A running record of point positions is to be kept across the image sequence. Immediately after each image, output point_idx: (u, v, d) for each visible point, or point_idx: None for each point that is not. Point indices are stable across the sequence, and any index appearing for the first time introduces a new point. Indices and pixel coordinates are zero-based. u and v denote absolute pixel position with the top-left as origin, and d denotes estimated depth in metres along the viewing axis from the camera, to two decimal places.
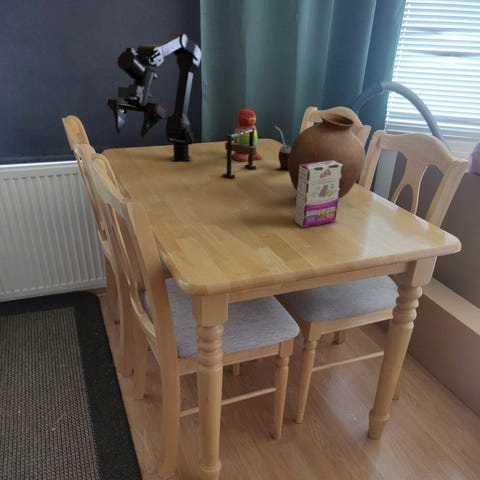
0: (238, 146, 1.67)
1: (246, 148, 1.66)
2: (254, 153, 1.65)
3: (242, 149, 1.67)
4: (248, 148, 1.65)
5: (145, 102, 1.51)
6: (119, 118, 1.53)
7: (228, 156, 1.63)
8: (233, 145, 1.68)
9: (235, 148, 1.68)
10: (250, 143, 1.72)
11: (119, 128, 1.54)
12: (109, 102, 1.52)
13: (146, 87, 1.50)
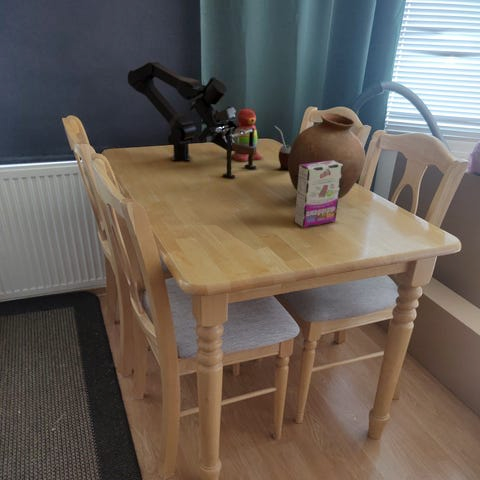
0: (238, 146, 1.67)
1: (246, 148, 1.66)
2: (254, 153, 1.65)
3: (242, 149, 1.67)
4: (248, 148, 1.65)
5: None
6: None
7: (228, 156, 1.63)
8: (233, 145, 1.68)
9: (235, 148, 1.68)
10: (250, 143, 1.72)
11: None
12: (211, 129, 1.62)
13: None
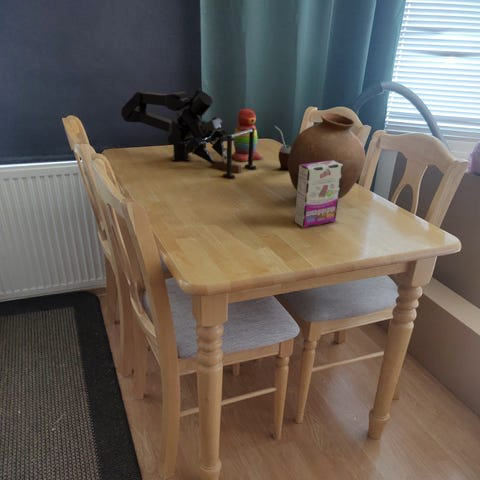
0: (223, 164, 1.74)
1: (231, 166, 1.72)
2: (239, 171, 1.72)
3: None
4: (233, 166, 1.72)
5: None
6: None
7: (228, 156, 1.63)
8: (219, 163, 1.75)
9: (221, 166, 1.75)
10: (250, 143, 1.72)
11: None
12: (197, 140, 1.67)
13: None
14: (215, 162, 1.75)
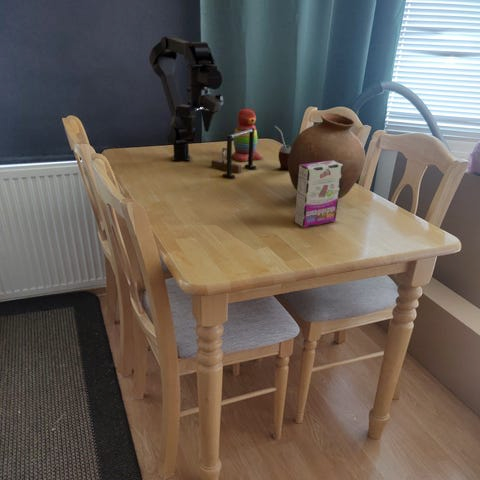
0: (223, 164, 1.74)
1: (231, 166, 1.72)
2: (239, 171, 1.72)
3: None
4: (233, 166, 1.72)
5: None
6: None
7: (228, 156, 1.63)
8: (219, 163, 1.75)
9: (221, 166, 1.75)
10: (250, 143, 1.72)
11: None
12: (191, 113, 1.58)
13: None
14: (215, 162, 1.75)
